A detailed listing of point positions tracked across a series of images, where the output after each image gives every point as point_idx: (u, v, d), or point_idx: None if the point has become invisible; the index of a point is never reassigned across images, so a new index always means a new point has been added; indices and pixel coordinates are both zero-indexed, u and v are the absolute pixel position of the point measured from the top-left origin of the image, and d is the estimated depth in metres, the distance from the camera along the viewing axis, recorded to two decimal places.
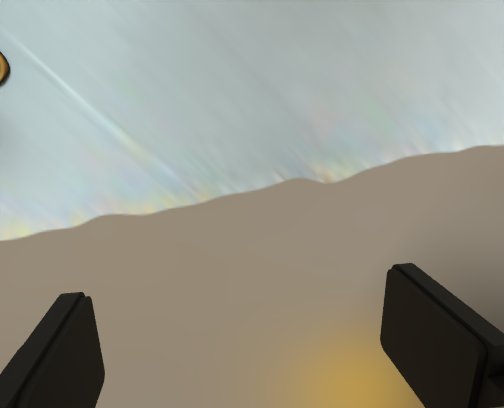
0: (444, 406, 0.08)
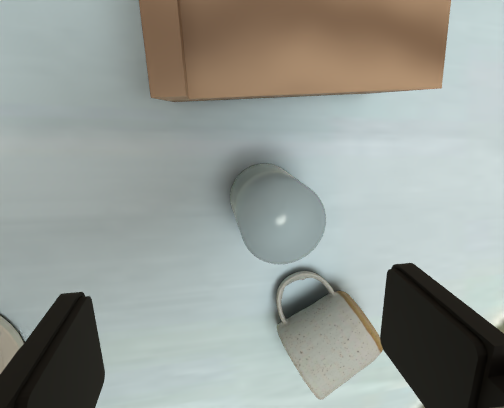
0: (444, 406, 0.08)
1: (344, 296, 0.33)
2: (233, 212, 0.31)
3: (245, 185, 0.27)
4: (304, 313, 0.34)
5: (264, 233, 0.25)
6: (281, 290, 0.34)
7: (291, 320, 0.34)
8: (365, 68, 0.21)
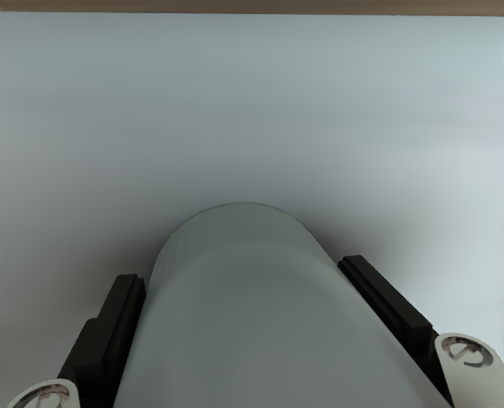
0: None
1: None
2: None
3: (157, 307, 0.07)
4: None
5: None
6: None
7: None
8: None
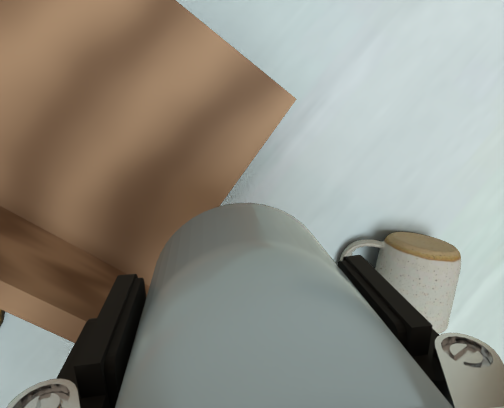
0: None
1: (390, 243, 0.33)
2: None
3: (158, 308, 0.07)
4: None
5: None
6: None
7: None
8: (231, 154, 0.22)
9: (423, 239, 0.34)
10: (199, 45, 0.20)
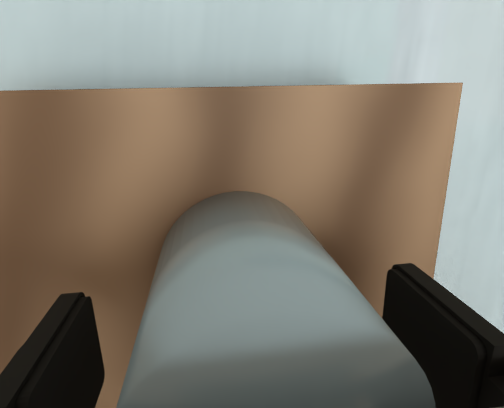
0: (444, 406, 0.08)
1: None
2: None
3: (167, 271, 0.09)
4: None
5: None
6: None
7: None
8: (414, 213, 0.15)
9: None
10: (296, 117, 0.13)
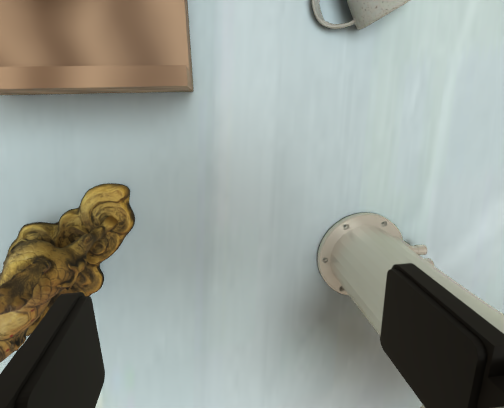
0: (444, 406, 0.08)
1: None
2: None
3: None
4: (348, 0, 0.37)
5: None
6: (324, 23, 0.38)
7: (353, 14, 0.37)
8: None
9: None
10: None
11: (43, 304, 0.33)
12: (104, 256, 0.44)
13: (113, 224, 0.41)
